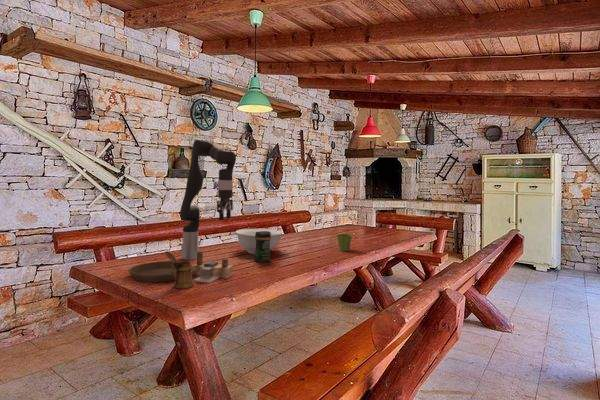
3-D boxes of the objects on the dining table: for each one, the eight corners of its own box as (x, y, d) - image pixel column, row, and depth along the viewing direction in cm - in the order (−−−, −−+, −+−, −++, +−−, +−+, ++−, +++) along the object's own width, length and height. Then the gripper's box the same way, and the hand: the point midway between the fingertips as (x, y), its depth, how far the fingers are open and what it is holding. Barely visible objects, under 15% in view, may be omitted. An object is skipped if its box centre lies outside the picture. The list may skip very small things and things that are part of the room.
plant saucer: (118, 275, 194) (118, 266, 194) (173, 265, 217) (173, 257, 217) (146, 288, 173) (146, 278, 173) (203, 276, 196) (204, 267, 196)
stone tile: (193, 281, 185) (193, 279, 185) (202, 276, 193) (202, 275, 193) (210, 282, 183) (210, 281, 183) (218, 278, 191) (218, 276, 191)
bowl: (291, 251, 264) (291, 231, 263) (262, 259, 236) (263, 236, 235) (255, 246, 281) (255, 226, 280) (225, 253, 254) (225, 231, 253)
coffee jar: (258, 263, 227) (259, 232, 226) (252, 260, 233) (253, 230, 232) (272, 261, 232) (273, 231, 231) (266, 258, 239) (266, 229, 238)
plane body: (191, 275, 196) (192, 252, 195) (198, 272, 203) (198, 250, 202) (227, 278, 191) (227, 255, 191) (232, 274, 198) (233, 252, 197)
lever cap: (199, 278, 187) (200, 268, 186) (203, 276, 191) (203, 266, 190) (209, 279, 186) (209, 269, 185) (212, 277, 190) (212, 267, 189)
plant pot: (341, 248, 279) (341, 233, 279) (355, 250, 272) (355, 235, 272) (332, 250, 270) (333, 235, 269) (347, 253, 263) (347, 237, 262)
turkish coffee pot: (160, 287, 173) (160, 249, 172) (187, 282, 183) (187, 245, 182) (170, 292, 167) (170, 252, 166) (197, 286, 177) (197, 248, 176)
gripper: (224, 188, 206) (224, 217, 207) (212, 189, 192) (212, 220, 193) (237, 188, 204) (236, 218, 205) (226, 189, 190) (225, 221, 191)
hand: (224, 219), depth 199 cm, fingers open, 8 cm apart
